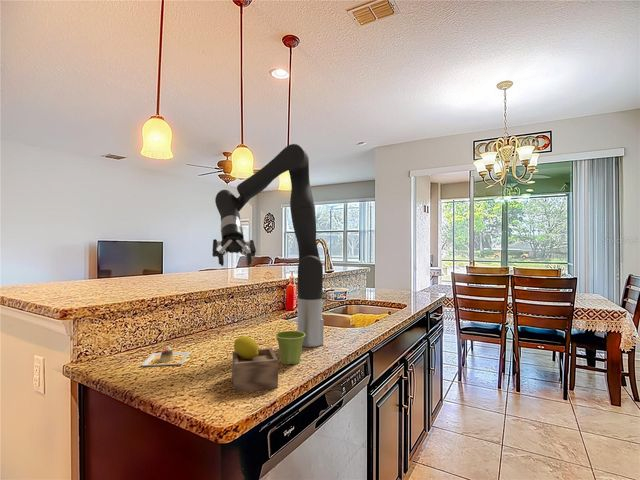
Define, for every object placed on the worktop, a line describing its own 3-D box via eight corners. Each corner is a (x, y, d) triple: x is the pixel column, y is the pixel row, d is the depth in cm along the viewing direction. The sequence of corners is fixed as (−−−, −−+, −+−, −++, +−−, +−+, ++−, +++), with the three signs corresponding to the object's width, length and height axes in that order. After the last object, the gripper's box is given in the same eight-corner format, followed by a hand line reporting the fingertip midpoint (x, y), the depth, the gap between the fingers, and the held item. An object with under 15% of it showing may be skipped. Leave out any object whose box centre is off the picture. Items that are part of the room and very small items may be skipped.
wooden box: (271, 374, 100) (271, 348, 100) (277, 389, 90) (278, 360, 90) (232, 377, 97) (232, 350, 97) (234, 393, 87) (234, 363, 87)
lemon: (254, 366, 95) (232, 351, 98) (266, 348, 97) (243, 334, 100) (249, 362, 90) (225, 346, 93) (261, 343, 92) (238, 328, 95)
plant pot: (293, 369, 104) (293, 340, 104) (269, 363, 109) (269, 335, 109) (310, 360, 112) (311, 333, 112) (287, 355, 117) (287, 329, 117)
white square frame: (140, 369, 104) (140, 353, 104) (152, 356, 116) (152, 342, 116) (182, 367, 106) (182, 351, 106) (190, 355, 118) (190, 340, 118)
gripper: (211, 222, 120) (214, 256, 109) (253, 223, 125) (259, 256, 114) (210, 237, 125) (212, 272, 114) (250, 238, 130) (255, 271, 119)
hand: (235, 264), depth 114 cm, fingers open, 8 cm apart
